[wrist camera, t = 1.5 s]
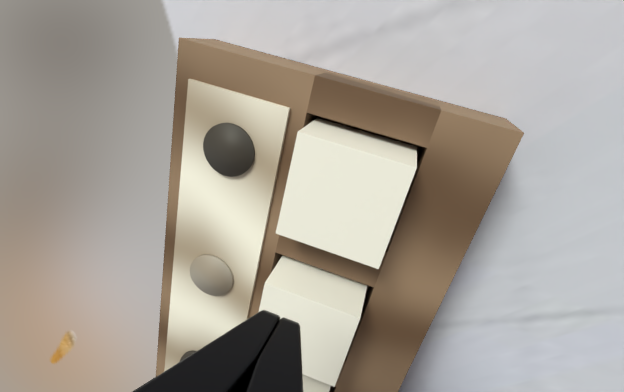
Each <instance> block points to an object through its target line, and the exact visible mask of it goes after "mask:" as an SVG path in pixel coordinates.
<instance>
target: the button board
mask: <svg viewBox="0 0 624 392" xmlns="http://www.w3.org/2000/svg"><path fill="white" fill-rule="evenodd" d="M175 90H176V91H175V104H174V120H173V134H172V148H171V162H170V177H169V192H168V206H167V221H166V235H165V236H166V237H165V250H164V264H163V279H162V294H161V309H160V323H159V337H158V353H157V367H156V377H157V376H158V375H160V374H161V373H163V372H165V371H166V370H168V369H169V368H171V367H172V366H174V365H176V364H177V363H179V362H180V361H182V360H184V359H185V358H187V357H188V356H190V355H191V354H193V353H195V352H196V351H198V350H199V349H201V348H203V347H204V346H206V345H207V344H209V343H210V342H212V341H214V340H215V339H217V338H218V337H220V336H222V335H223V334H225V333H226V332H228V331H230V330H231V329H233V328H234V327H236V326H237V325H239V324H241V323H242V322H244V321H245V320H247V319H249V318H250V317H252V316H253V315H255V314H256V313H258V312H259V307H260V303H261V298H262V293H263V289H264V284H265V282H266V280H267V279H268V277H269V276H270V274H271V272H272V271H273V269H274V268H275V266H276V265H277V263H278V262H279V260H280V259H281V257H282V256H283V255H284V256H287V257H290V258H292V259H295V260H298V261H301V262H304V263H306V264H309V265H312V266H315V267H318V268H321V269H323V270H326V271H329V272H332V273H335V274H337V275H340V276H343V277H346V278H349V279H351V280H354V281H357V282H360V283H363V284H365V285H367V289H366V294H365V299H364V303H363V308H362V313H361V318H360V321H359V323H358V326H357V329H356V331H355V334H354V337H353V339H352V342H351V345H350V347H349V350H348V353H347V355H346V358H345V361H344V363H343V366H342V368H341V371H340V374H339V376H338V379H337V382H336V384H335V387H333V386H331V387H330V391H329V392H398V390H399V388H400V386H401V384H402V382H403V380H404V378H405V376H406V374H407V372H408V370H409V368H410V366H411V364H412V362H413V360H414V358H415V356H416V353H417V351H418V349H419V347H420V345H421V343H422V341H423V339H424V337H425V335H426V333H427V331H428V329H429V327H430V325H431V323H432V321H433V319H434V317H435V315H436V312H437V310H438V308H439V306H440V304H441V302H442V300H443V298H444V296H445V294H446V292H447V290H448V288H449V286H450V284H451V282H452V280H453V278H454V276H455V274H456V271H457V269H458V267H459V265H460V263H461V261H462V259H463V257H464V255H465V253H466V251H467V249H468V247H469V245H470V243H471V241H472V239H473V237H474V235H475V233H476V230H477V228H478V226H479V224H480V222H481V220H482V218H483V216H484V214H485V212H486V210H487V208H488V206H489V204H490V202H491V200H492V198H493V196H494V194H495V192H496V189H497V187H498V185H499V183H500V181H501V179H502V177H503V175H504V173H505V171H506V169H507V167H508V165H509V163H510V161H511V159H512V157H513V155H514V153H515V151H516V148H517V146H518V144H519V142H520V140H521V138H522V136H523V134H524V133H523V132H522V131H521V130H520V129H518V128H517V127H516V126H515V125H513V124H512V123H511V122H509V121H508V120H507V119H505V118H501V117H498V116H494V115H490V114H487V113H483V112H479V111H476V110H472V109H468V108H465V107H461V106H457V105H454V104H450V103H446V102H443V101H439V100H435V99H432V98H428V97H424V96H421V95H417V94H413V93H410V92H406V91H402V90H399V89H395V88H391V87H388V86H384V85H380V84H377V83H373V82H369V81H366V80H362V79H358V78H355V77H351V76H347V75H344V74H340V73H336V72H333V71H329V70H325V69H322V68H318V67H314V66H311V65H307V64H303V63H300V62H296V61H292V60H288V59H285V58H281V57H277V56H274V55H270V54H266V53H263V52H259V51H255V50H252V49H248V48H244V47H241V46H237V45H233V44H230V43H226V42H222V41H219V40H215V39H195V38H179V45H178V60H177V75H176V89H175ZM317 118H321V119H324V120H328V121H331V122H334V123H338V124H341V125H345V126H348V127H351V128H355V129H358V130H362V131H365V132H368V133H372V134H375V135H379V136H382V137H385V138H389V139H392V140H396V141H399V142H402V143H406V144H409V145H413V146H416V147H417V169H416V171H415V174H414V177H413V179H412V182H411V185H410V187H409V190H408V193H407V195H406V198H405V201H404V203H403V206H402V209H401V211H400V214H399V217H398V219H397V222H396V225H395V227H394V230H393V233H392V235H391V238H390V241H389V243H388V246H387V249H386V251H385V254H384V257H383V259H382V262H381V265H380V267H379V269H376V268H373V267H371V266H368V265H365V264H362V263H359V262H356V261H353V260H350V259H348V258H345V257H342V256H339V255H336V254H333V253H330V252H328V251H325V250H322V249H319V248H316V247H313V246H310V245H307V244H305V243H302V242H299V241H296V240H293V239H290V238H287V237H284V236H282V235H279V234H276V229H277V224H278V220H279V215H280V211H281V206H282V201H283V197H284V192H285V188H286V183H287V178H288V174H289V169H290V165H291V160H292V155H293V151H294V146H295V142H296V137H297V132H298V131H299V130H301V129H302V128H304V127H305V126H306V125H308V124H309V123H311V122H312V121H314V120H315V119H317Z"/></svg>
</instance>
